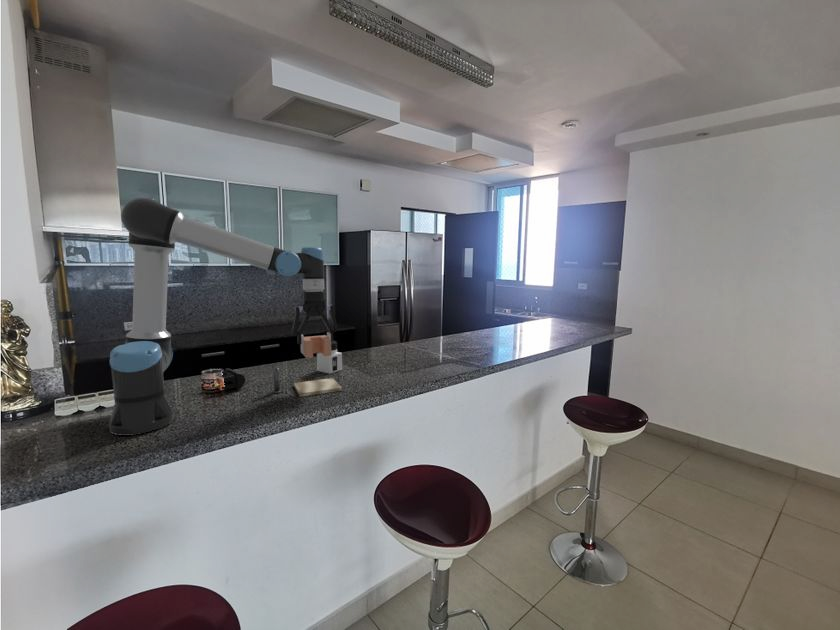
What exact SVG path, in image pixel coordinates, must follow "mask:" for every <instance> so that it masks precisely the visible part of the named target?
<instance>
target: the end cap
mask: <svg viewBox="0 0 840 630" xmlns="http://www.w3.org/2000/svg"><path fill="white" fill-rule="evenodd" d="M222 373H223V375H222V376H220V377H221V378H222V379H223V378H224V383H225V384H224V385H225V387H222V389H224V390H222V391H223V392H222V391H221V392H222V393H223V394H230V393H235V392H238V391H239V390H241V389H242V388H243V387H244V385H245V384H246V377H245V375H244V374H242V373H241V372H238V371H236V370H234V369H231V368H225V370H222Z"/></svg>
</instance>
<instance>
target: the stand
mask: <svg viewBox="0 0 840 630" xmlns="http://www.w3.org/2000/svg"><path fill="white" fill-rule="evenodd" d="M272 373H273V375H272V376H273V390H272V393H273V394H276V395H277V394H281V392H282V389H281V383H280V368H279V367H273V368H272Z"/></svg>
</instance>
